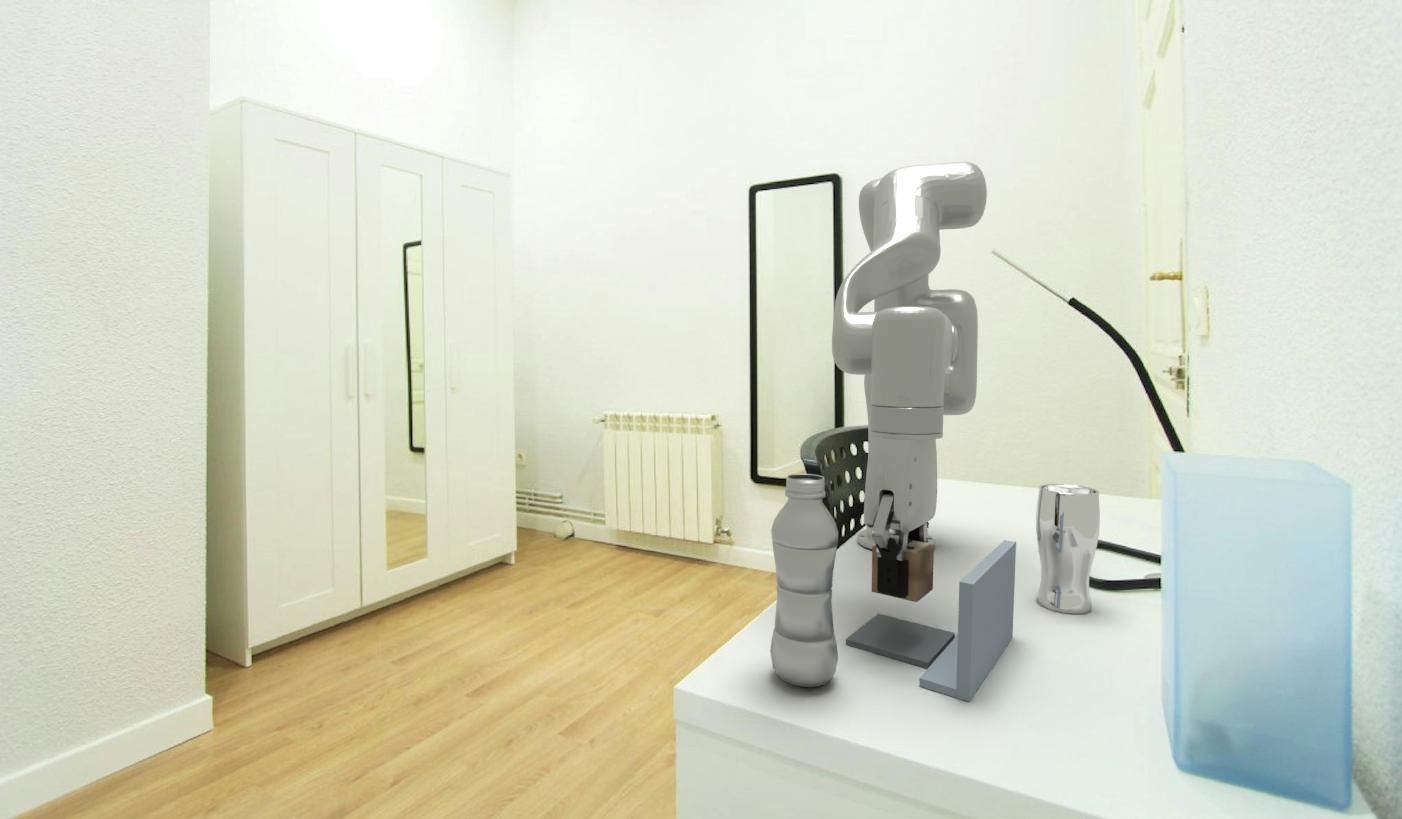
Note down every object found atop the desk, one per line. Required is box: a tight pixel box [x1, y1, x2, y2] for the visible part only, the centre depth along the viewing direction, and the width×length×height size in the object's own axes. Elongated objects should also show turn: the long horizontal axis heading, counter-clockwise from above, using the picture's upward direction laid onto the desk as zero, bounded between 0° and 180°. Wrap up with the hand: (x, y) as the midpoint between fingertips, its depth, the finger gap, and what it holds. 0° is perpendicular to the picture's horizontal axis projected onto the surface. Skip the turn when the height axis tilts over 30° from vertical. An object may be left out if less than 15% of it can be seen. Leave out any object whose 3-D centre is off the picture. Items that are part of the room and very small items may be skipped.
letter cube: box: [871, 537, 935, 603], centre depth 70 cm, size 5×5×5 cm
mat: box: [845, 613, 956, 669], centre depth 71 cm, size 9×9×1 cm
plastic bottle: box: [769, 473, 839, 688], centre depth 62 cm, size 6×7×20 cm
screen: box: [918, 540, 1017, 703], centre depth 66 cm, size 17×5×11 cm, turn 142°
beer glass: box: [1035, 483, 1101, 615], centre depth 81 cm, size 7×7×15 cm
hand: (902, 585), depth 70 cm, fingers closed on letter cube, 5 cm apart
